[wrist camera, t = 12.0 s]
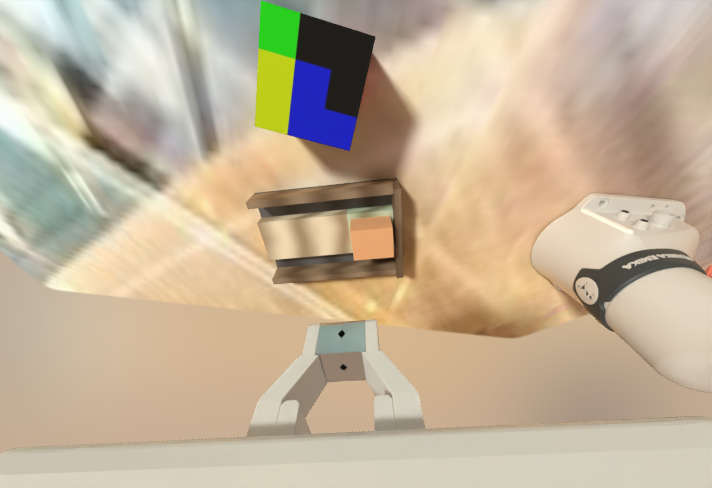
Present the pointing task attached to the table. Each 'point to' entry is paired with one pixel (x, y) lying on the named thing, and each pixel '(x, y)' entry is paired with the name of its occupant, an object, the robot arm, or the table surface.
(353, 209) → the box
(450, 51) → the table surface
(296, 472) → the robot arm
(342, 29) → the puzzle toy
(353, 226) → the block
